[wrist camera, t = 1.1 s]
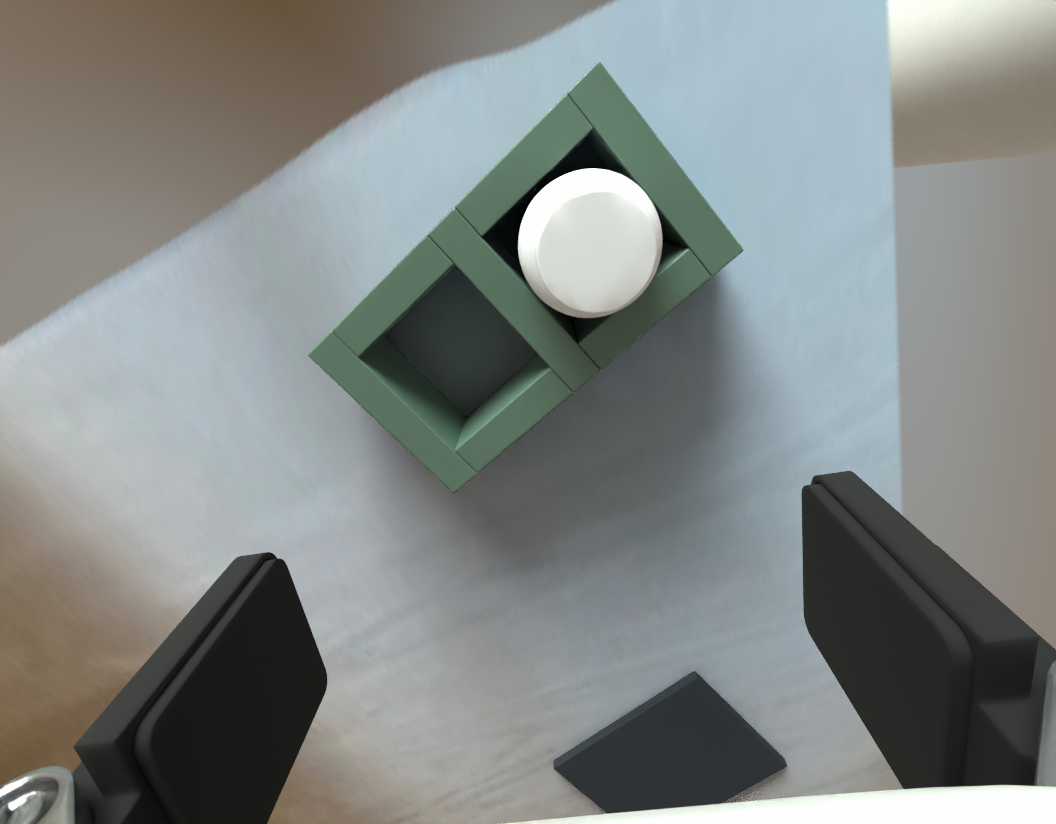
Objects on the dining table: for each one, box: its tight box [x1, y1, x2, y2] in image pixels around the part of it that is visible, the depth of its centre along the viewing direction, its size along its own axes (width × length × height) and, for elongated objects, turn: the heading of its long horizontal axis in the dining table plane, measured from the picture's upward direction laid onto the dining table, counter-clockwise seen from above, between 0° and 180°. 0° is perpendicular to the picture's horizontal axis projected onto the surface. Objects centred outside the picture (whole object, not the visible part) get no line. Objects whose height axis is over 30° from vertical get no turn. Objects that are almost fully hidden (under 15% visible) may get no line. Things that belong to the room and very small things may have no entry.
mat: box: [554, 671, 787, 814], centre depth 39 cm, size 12×10×1 cm
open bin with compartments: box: [308, 62, 743, 493], centre depth 27 cm, size 17×9×4 cm, turn 132°
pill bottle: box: [518, 168, 662, 318], centre depth 23 cm, size 5×5×10 cm
